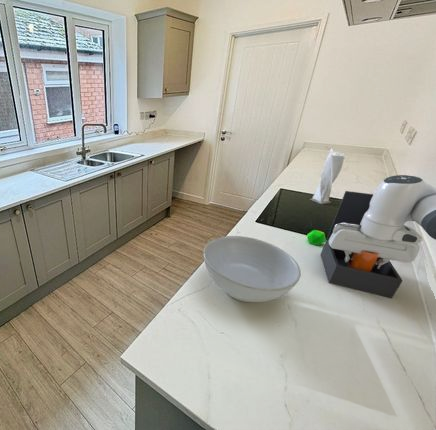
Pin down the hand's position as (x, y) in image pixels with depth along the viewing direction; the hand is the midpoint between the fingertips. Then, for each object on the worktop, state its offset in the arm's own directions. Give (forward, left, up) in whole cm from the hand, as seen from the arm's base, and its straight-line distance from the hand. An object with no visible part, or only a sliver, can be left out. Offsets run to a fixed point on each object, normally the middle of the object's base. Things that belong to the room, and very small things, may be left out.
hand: (361, 264), depth 85 cm
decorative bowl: (+33, +21, -7) cm, 40 cm away
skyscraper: (0, -72, -7) cm, 72 cm away
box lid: (0, -11, +11) cm, 15 cm away
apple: (+8, -21, -7) cm, 23 cm away
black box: (0, -2, -6) cm, 7 cm away
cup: (0, 0, -5) cm, 5 cm away
